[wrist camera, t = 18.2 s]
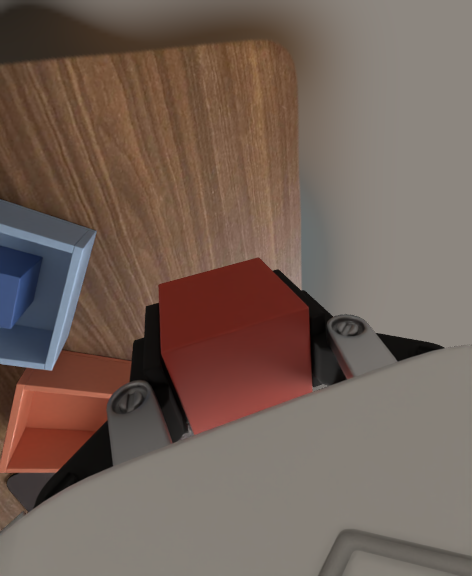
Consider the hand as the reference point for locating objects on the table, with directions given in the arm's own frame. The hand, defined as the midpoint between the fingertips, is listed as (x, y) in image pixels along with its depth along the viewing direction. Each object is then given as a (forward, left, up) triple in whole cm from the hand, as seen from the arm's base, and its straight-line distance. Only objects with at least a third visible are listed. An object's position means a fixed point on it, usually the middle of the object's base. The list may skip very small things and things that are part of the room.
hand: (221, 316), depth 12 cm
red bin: (-4, -21, -15) cm, 26 cm away
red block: (0, 0, 0) cm, 0 cm away
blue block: (-13, -8, -15) cm, 21 cm away
